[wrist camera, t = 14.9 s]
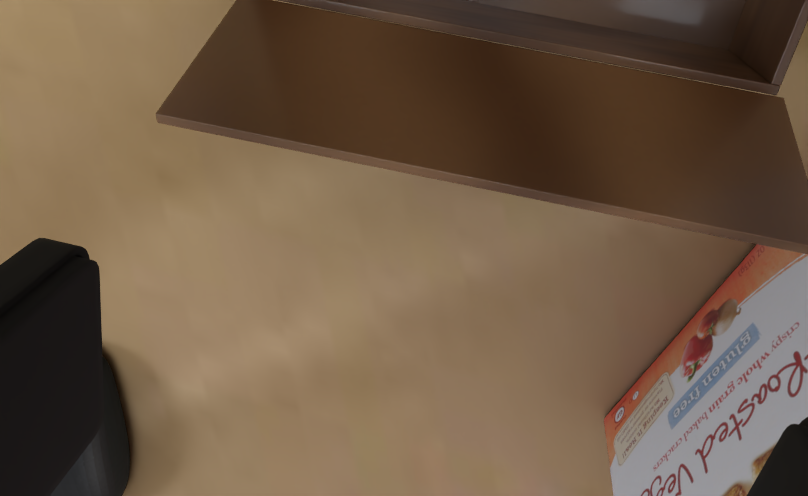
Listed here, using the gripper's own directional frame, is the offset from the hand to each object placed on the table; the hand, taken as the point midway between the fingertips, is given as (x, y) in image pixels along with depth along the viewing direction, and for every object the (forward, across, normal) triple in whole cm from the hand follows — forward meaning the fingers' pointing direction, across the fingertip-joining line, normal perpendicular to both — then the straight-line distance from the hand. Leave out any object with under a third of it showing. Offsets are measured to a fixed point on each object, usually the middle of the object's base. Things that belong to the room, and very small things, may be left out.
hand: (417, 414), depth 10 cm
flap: (+11, 0, -1) cm, 11 cm away
